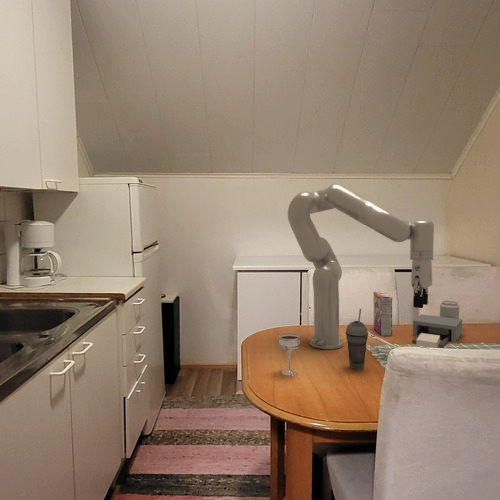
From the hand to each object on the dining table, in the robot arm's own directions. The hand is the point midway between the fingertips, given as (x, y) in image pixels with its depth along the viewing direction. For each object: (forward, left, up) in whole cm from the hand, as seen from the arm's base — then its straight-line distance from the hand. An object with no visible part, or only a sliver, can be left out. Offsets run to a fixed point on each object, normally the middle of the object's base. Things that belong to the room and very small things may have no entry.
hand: (420, 305), depth 149 cm
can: (+38, -2, -18) cm, 42 cm away
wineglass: (-42, +29, -18) cm, 54 cm away
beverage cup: (-26, +13, -18) cm, 34 cm away
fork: (+6, +16, -18) cm, 25 cm away
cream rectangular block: (+12, 0, -18) cm, 22 cm away
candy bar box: (+18, +20, -18) cm, 32 cm away
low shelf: (+21, 0, -17) cm, 28 cm away
